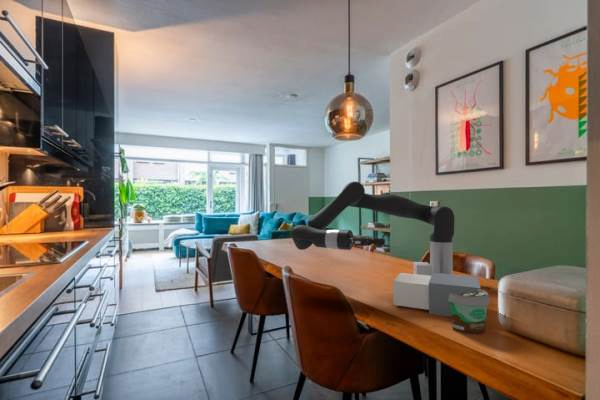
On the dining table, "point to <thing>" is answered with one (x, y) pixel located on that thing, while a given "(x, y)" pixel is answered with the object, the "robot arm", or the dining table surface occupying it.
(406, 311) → the dining table surface
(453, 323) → the food container
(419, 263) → the small box
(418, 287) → the white cuboid
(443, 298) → the sleeve
